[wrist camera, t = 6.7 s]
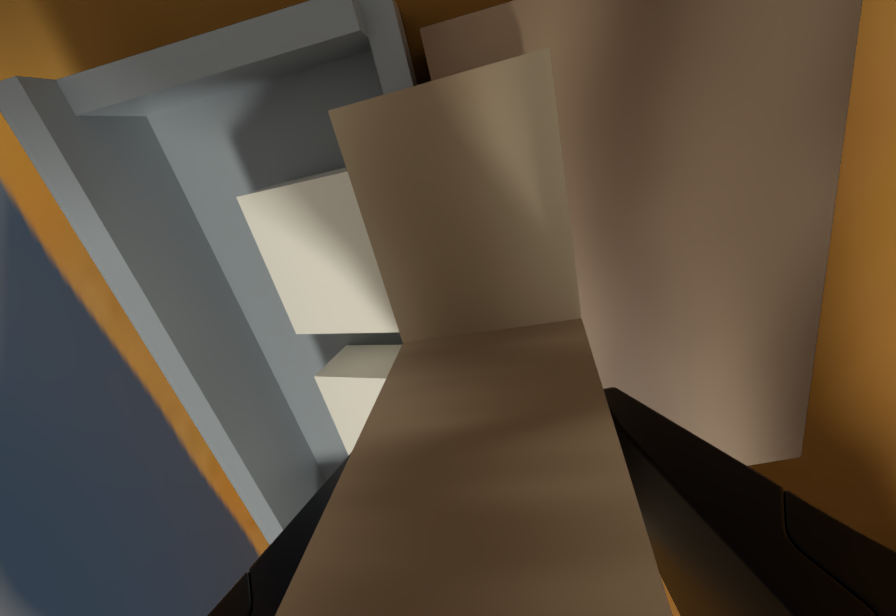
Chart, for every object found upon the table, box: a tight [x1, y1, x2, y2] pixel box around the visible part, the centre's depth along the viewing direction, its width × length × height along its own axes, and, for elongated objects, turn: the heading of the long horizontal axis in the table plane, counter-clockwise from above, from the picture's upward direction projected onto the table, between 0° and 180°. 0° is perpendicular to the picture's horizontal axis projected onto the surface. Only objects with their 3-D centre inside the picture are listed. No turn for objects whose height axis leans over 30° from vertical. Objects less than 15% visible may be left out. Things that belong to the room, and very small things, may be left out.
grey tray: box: [0, 0, 418, 545], centre depth 14 cm, size 9×18×4 cm, turn 14°
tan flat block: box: [419, 0, 862, 466], centre depth 14 cm, size 10×16×2 cm, turn 14°
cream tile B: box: [314, 345, 402, 455], centre depth 15 cm, size 4×4×2 cm
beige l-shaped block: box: [275, 47, 672, 616], centre depth 8 cm, size 4×13×9 cm, turn 13°
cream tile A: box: [236, 167, 399, 334], centre depth 13 cm, size 4×4×2 cm
